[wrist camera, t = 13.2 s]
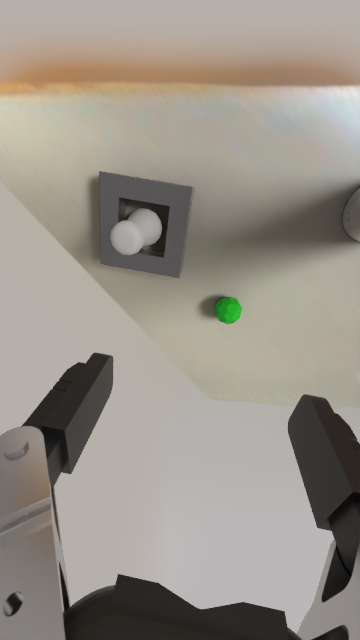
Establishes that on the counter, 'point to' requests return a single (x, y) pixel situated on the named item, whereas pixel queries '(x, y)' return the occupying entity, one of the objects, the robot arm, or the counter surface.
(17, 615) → the robot arm
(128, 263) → the collar
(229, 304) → the polyhedron
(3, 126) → the counter surface
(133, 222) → the salt shaker
